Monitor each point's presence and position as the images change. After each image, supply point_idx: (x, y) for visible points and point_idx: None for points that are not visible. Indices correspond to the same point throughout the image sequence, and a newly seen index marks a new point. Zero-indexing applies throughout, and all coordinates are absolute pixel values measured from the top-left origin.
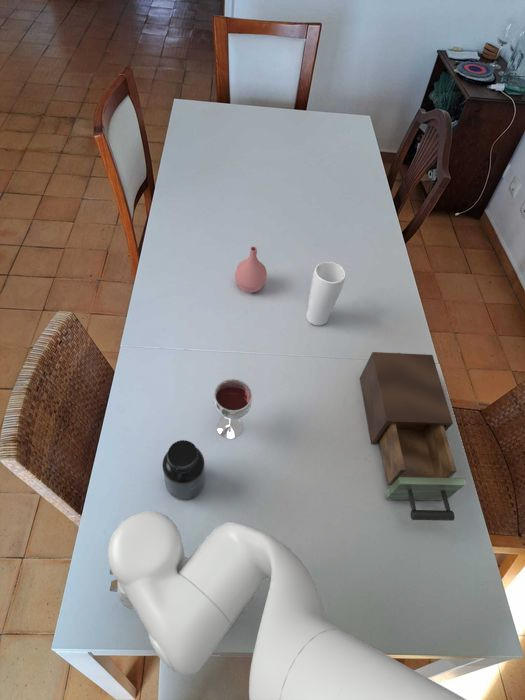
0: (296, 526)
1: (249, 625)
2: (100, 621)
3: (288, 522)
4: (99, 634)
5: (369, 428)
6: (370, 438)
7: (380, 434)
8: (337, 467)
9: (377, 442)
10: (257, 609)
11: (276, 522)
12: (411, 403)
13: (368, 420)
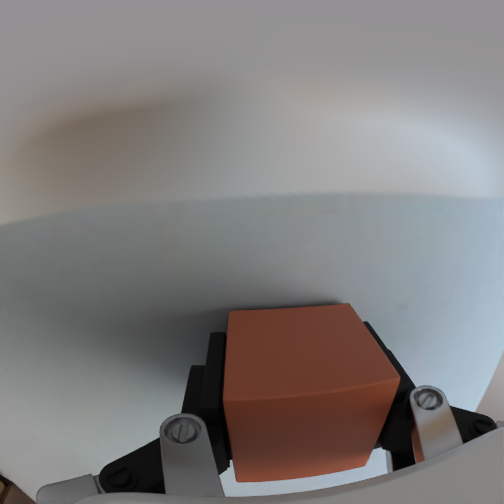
0: (27, 444)
1: (8, 281)
2: (478, 259)
3: (41, 452)
4: (480, 225)
5: (23, 496)
6: (17, 488)
7: (1, 500)
8: (28, 480)
9: (7, 484)
10: (7, 319)
11: (59, 458)
12: None
13: (29, 502)
